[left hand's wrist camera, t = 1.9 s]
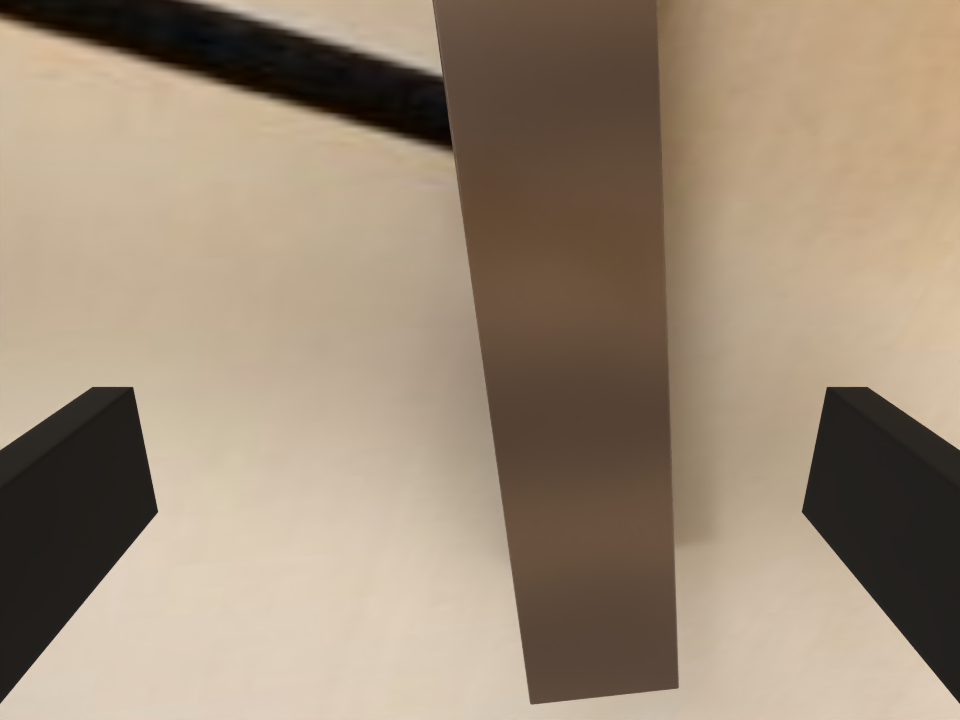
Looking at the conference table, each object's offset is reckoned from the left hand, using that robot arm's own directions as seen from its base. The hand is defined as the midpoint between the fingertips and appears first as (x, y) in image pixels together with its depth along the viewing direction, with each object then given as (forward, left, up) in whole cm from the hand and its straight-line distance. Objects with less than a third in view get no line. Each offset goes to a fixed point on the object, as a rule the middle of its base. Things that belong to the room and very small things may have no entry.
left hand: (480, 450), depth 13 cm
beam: (+16, +21, -15) cm, 30 cm away
